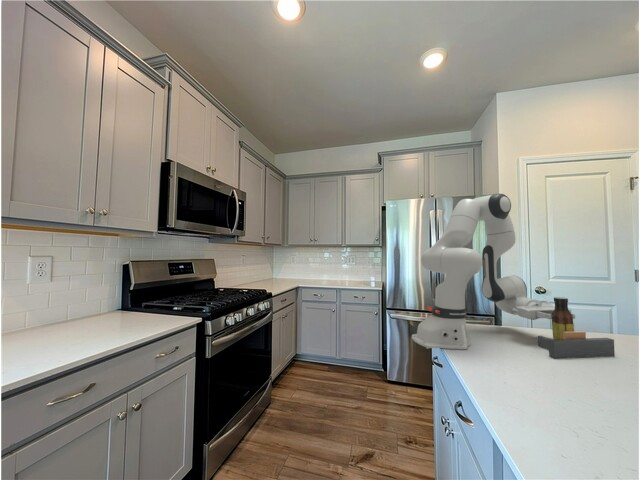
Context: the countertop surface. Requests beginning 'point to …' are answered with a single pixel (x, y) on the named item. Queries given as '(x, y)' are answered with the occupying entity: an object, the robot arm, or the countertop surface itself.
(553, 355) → the grey base block
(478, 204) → the robot arm
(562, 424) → the countertop surface
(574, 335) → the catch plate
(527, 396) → the countertop surface
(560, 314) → the sauce bottle
